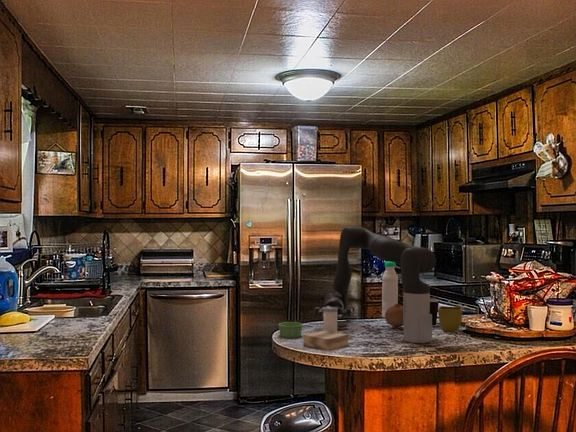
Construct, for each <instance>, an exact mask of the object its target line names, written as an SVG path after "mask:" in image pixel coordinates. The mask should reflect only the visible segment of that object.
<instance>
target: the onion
mask: <svg viewBox="0 0 576 432" xmlns="http://www.w3.org/2000/svg"><path fill="white" fill-rule="evenodd" d="M384 319H385V322H387V324H388V325H389V326H391V327H392V328H395V329H398V328H401V327H403V305H402V304H400V303H396V304H394V306H392V307H390V308H388V309H387V311H386V313H385V318H384Z"/></svg>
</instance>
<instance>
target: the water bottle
mask: <svg viewBox="0 0 576 432" xmlns="http://www.w3.org/2000/svg"><path fill="white" fill-rule="evenodd" d="M384 268H385V271H384V272H383V274H382V276H381V280H382V283H381V284H382V286H381V298H382V301H381V308H382V310H381V317H382V318H384V319H386V318H385V313H386V311H387V309H388V308H390V307H392V306H394V304H396V303H398V300H399V299H398V297H399V283H398V280H399V277H398V274H397V272H396V270H395V268H396V262H389V261H385V262H384ZM398 304H399V303H398Z"/></svg>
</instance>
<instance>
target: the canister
mask: <svg viewBox="0 0 576 432" xmlns="http://www.w3.org/2000/svg"><path fill="white" fill-rule="evenodd" d="M323 307H324V308H323ZM323 307H322V308H323V311H324V316H323V330H324V331H330V332H336V333H338V318H337V311H338V308H336V307H325V306H323Z"/></svg>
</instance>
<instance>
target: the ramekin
mask: <svg viewBox="0 0 576 432" xmlns="http://www.w3.org/2000/svg"><path fill="white" fill-rule="evenodd" d="M303 326H304V325H303V323H301V322H295V321H284V322H280V323H278V327H279V328H278V330H279V336H280V337H282V338H286V337H287V339H288V338H289V339H292V338H293V339H294V338H300V337H301V336H302V330H303V329H302V328H303Z"/></svg>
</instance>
